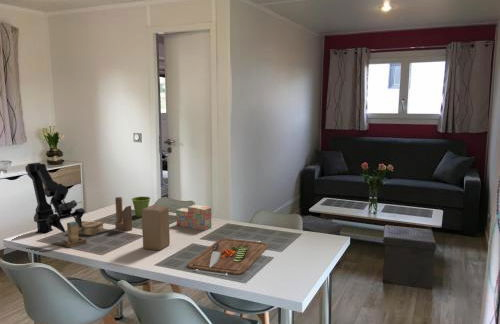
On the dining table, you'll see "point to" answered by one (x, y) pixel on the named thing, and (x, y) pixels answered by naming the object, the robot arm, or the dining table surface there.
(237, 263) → the chopping board
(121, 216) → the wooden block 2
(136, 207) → the plant pot
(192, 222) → the stack of blocks
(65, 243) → the frame
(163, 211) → the wooden block
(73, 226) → the teal long block
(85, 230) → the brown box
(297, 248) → the dining table surface
